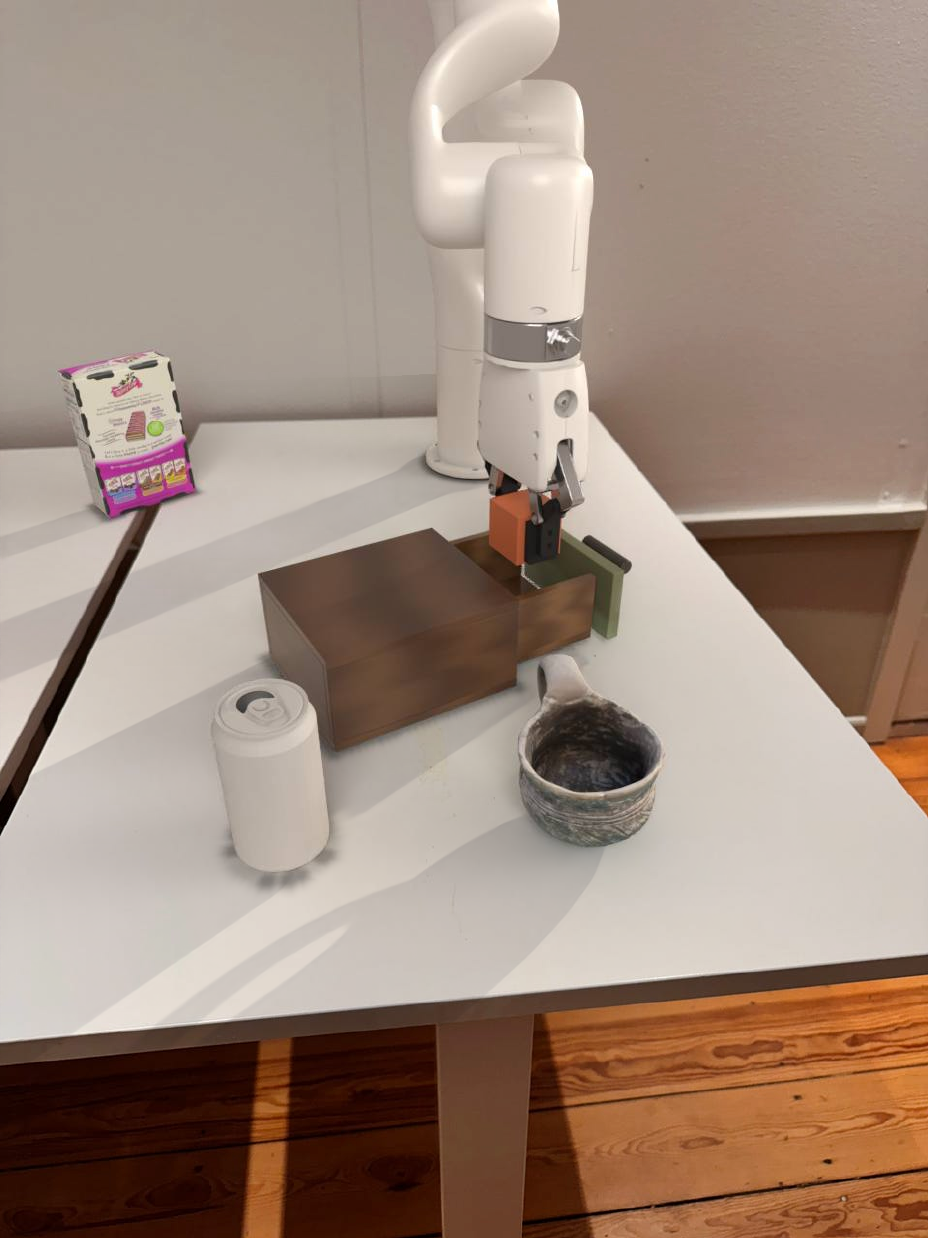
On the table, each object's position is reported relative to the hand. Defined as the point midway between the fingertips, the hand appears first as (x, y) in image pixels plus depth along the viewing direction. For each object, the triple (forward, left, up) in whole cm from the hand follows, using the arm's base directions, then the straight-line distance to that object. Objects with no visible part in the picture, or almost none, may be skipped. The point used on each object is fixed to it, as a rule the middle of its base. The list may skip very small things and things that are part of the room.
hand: (524, 545), depth 77 cm
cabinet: (+13, 0, -9) cm, 16 cm away
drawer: (0, 0, -8) cm, 8 cm away
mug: (+9, +21, -9) cm, 25 cm away
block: (0, 0, 0) cm, 0 cm away
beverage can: (+28, +14, -9) cm, 33 cm away
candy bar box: (+23, -46, -9) cm, 53 cm away
